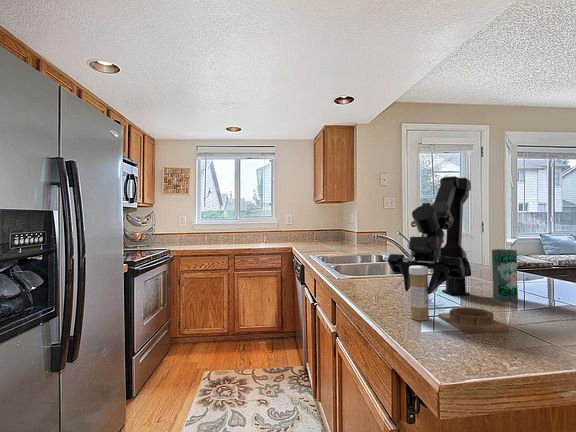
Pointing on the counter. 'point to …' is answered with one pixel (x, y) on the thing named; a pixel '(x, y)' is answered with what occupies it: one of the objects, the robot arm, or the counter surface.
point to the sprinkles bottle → (419, 292)
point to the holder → (473, 320)
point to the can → (505, 275)
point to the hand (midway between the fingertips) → (417, 292)
